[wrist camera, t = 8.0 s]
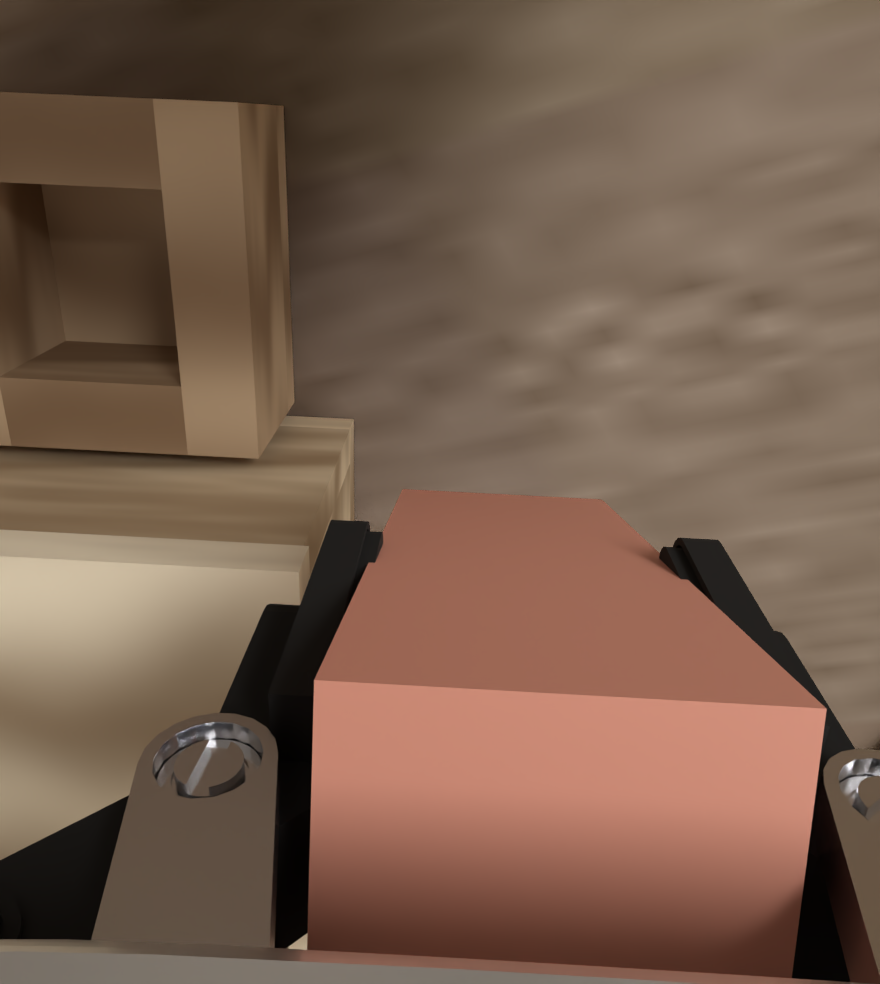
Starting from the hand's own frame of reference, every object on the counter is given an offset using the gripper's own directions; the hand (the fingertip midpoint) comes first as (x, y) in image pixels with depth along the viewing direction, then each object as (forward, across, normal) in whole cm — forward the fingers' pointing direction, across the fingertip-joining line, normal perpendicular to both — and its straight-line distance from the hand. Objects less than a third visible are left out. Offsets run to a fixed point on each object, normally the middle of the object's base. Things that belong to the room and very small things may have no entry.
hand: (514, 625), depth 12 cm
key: (+4, 0, +2) cm, 5 cm away
